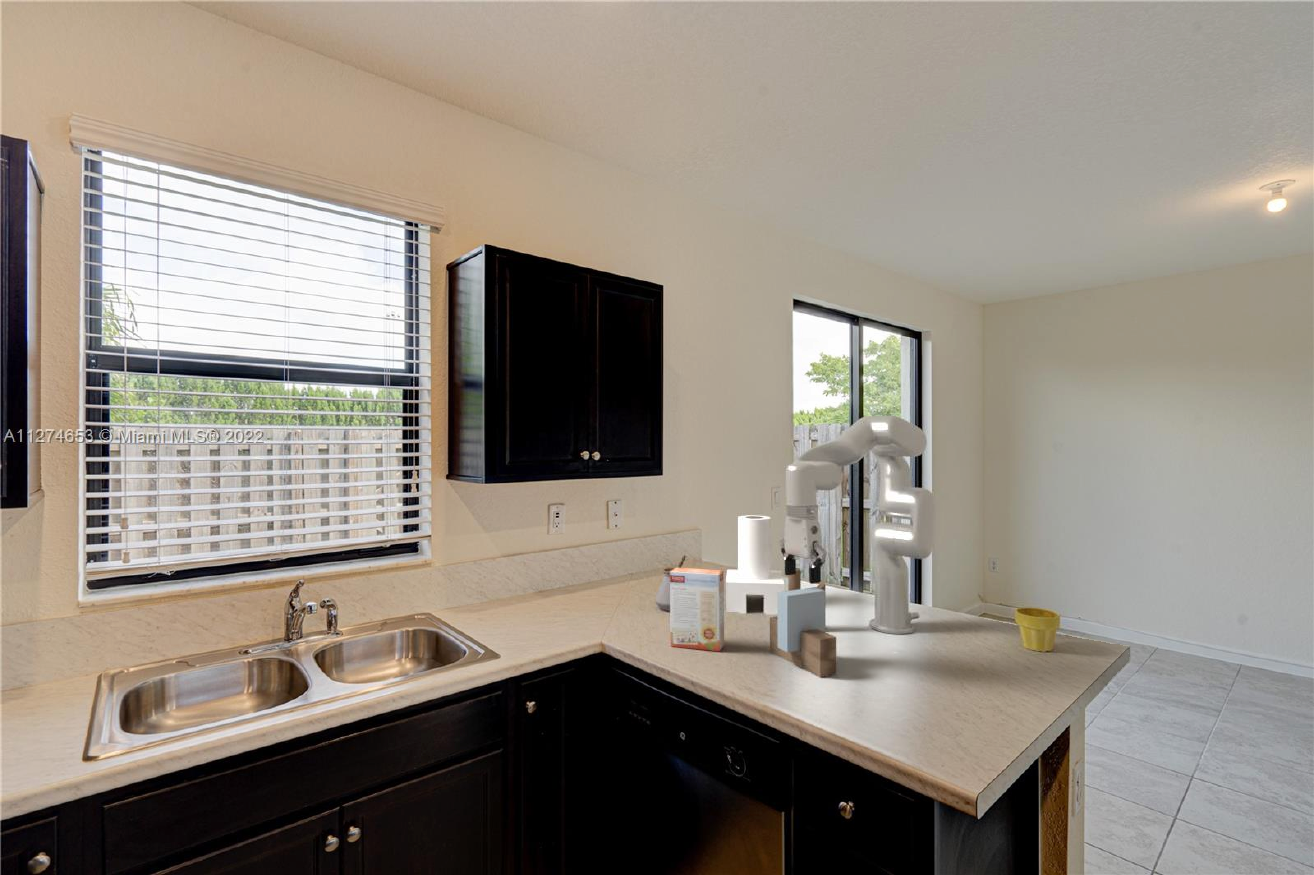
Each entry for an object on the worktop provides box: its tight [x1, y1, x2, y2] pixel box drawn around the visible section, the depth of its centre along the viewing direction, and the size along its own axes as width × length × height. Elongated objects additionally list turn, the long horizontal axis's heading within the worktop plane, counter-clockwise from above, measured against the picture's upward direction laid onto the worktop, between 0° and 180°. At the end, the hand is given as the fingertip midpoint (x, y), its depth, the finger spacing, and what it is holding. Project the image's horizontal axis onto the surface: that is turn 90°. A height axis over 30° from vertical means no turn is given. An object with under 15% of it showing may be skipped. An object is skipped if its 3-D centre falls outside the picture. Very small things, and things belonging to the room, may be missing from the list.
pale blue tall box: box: [777, 586, 826, 652], centre depth 157 cm, size 12×4×14 cm, turn 116°
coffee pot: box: [654, 554, 689, 612], centre depth 210 cm, size 21×12×15 cm, turn 160°
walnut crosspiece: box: [769, 615, 837, 678], centre depth 157 cm, size 5×20×9 cm, turn 26°
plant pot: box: [1014, 606, 1061, 653], centre depth 167 cm, size 10×10×10 cm
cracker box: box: [669, 567, 725, 652], centre depth 169 cm, size 14×6×21 cm, turn 71°
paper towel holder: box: [725, 514, 785, 615], centre depth 208 cm, size 19×19×30 cm
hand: (802, 578), depth 157 cm, fingers open, 9 cm apart
